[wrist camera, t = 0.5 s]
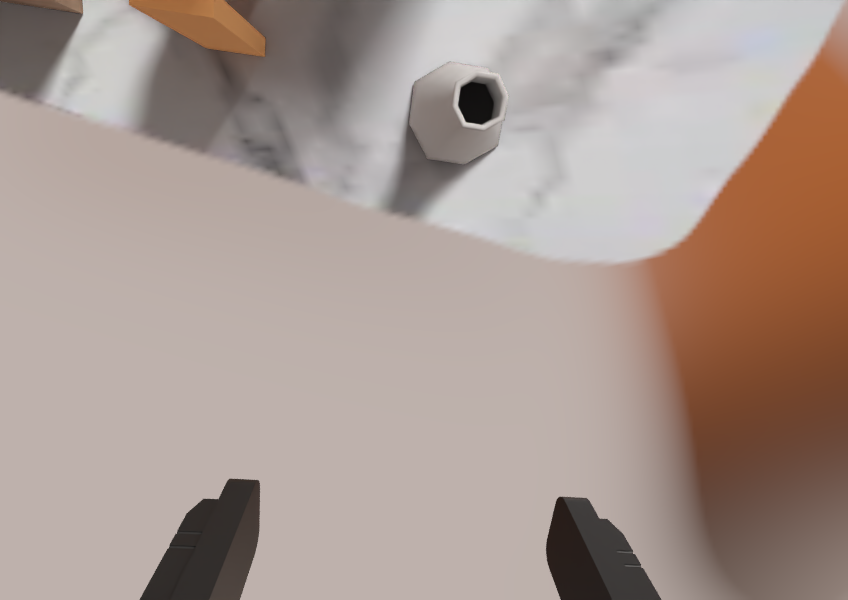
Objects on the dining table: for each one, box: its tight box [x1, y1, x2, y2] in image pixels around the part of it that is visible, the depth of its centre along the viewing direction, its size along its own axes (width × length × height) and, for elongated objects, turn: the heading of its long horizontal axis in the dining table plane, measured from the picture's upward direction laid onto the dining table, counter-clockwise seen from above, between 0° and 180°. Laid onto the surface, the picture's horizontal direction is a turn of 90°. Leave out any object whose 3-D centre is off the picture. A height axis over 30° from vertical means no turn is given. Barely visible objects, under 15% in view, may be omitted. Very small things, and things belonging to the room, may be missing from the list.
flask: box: [409, 62, 509, 165], centre depth 32 cm, size 7×7×10 cm
